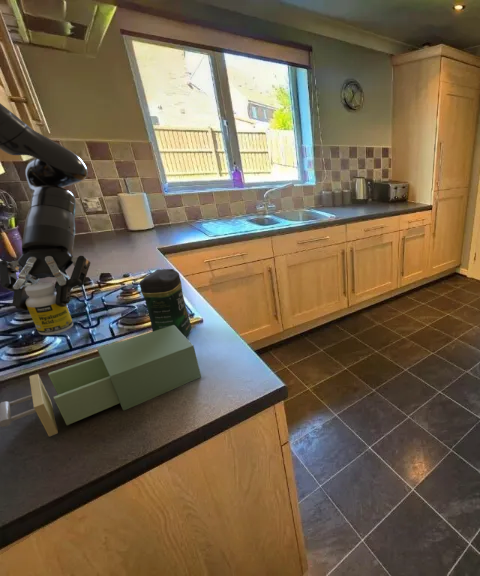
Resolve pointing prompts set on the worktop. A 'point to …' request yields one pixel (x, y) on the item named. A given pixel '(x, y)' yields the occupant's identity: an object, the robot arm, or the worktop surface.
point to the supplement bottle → (47, 309)
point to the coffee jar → (165, 300)
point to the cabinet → (150, 365)
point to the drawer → (67, 395)
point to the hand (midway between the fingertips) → (41, 307)
